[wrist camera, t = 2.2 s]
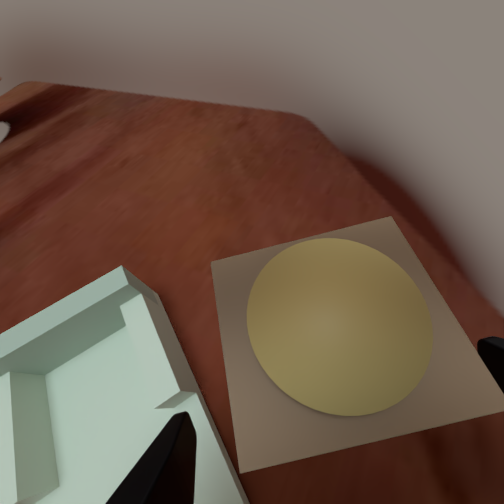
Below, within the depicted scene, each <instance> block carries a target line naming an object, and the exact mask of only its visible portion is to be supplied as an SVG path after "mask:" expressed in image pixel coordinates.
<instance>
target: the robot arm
mask: <svg viewBox="0 0 504 504" xmlns="http://www.w3.org/2000/svg"><path fill="white" fill-rule="evenodd" d="M477 351H478V354H479V356H480V358H481V359H482V361H483V362H484V364H485V365H486V367H487V369H488V370H489V372H490V373H491V375H492V377H493V378H494V380H495V381H496V383H497V384H498V386H499V388H500V389H501V391H502V392H503V394H504V339H503V338H499V337H495V336H491V337H487V338H483V339H480V340H479V341H478V342H477ZM196 449H197V434H196V430H195V428H194V425H193V422H192V420H191V417H190V415H189V413H188V412H187V411H184V412H180V413H176V414H174V415H173V416H172V417H171V418H170V420H169V421H168V422H167V424H166V425H165V426H164V427H163V429H162V430H161V431H160V433H159V434H158V435H157V437H156V438H155V439H154V441H153V442H152V443H151V444H150V446H149V447H148V448H147V450H146V451H145V452H144V454H143V455H142V456H141V457H140V459H139V460H138V461H137V463H136V464H135V465H134V467H133V468H132V469H131V471H130V472H129V473H128V474H127V476H126V477H125V478H124V480H123V481H122V482H121V484H120V485H119V486H118V487H117V489H116V490H115V491H114V493H113V494H112V495H111V497H110V498H109V499H108V501H107V502H106V503H105V504H194V492H195V471H196Z"/></svg>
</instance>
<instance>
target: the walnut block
mask: <svg viewBox="0 0 504 504" xmlns="http://www.w3.org/2000/svg"><path fill="white" fill-rule="evenodd" d="M211 269H212V276H213V283H214V290H215V297H216V305H217V312H218V319H219V326H220V334H221V341H222V348H223V355H224V363H225V370H226V377H227V384H228V392H229V399H230V406H231V413H232V421H233V428H234V435H235V442H236V450H237V457H238V464H239V471H240V473H245V472H249V471H253V470H257V469H261V468H266V467H270V466H274V465H278V464H282V463H287V462H291V461H295V460H299V459H304V458H308V457H312V456H316V455H320V454H325V453H329V452H333V451H337V450H341V449H346V448H350V447H354V446H358V445H363V444H367V443H371V442H375V441H379V440H384V439H388V438H392V437H396V436H401V435H405V434H409V433H413V432H417V431H422V430H426V429H430V428H434V427H438V426H443V425H447V424H451V423H455V422H460V421H464V420H468V419H472V418H476V417H481V416H485V415H489V414H493V413H497V412H502V411H504V394H503V392H502V391H501V389H500V388H499V386H498V384H497V383H496V381H495V380H494V378H493V377H492V375H491V373H490V372H489V370H488V369H487V367H486V365H485V364H484V362H483V361H482V359H481V358H480V356H479V354H478V353H477V351H476V350H475V348H474V346H473V345H472V343H471V342H470V340H469V339H468V337H467V335H466V334H465V332H464V331H463V329H462V327H461V326H460V324H459V323H458V321H457V320H456V318H455V316H454V315H453V313H452V312H451V310H450V309H449V307H448V305H447V304H446V302H445V301H444V299H443V297H442V296H441V294H440V293H439V291H438V290H437V288H436V286H435V285H434V283H433V282H432V280H431V278H430V277H429V275H428V274H427V272H426V271H425V269H424V267H423V266H422V264H421V263H420V261H419V259H418V258H417V256H416V255H415V253H414V252H413V250H412V248H411V247H410V245H409V244H408V242H407V241H406V239H405V237H404V236H403V234H402V233H401V231H400V229H399V228H398V226H397V225H396V223H395V222H394V220H393V218H392V217H391V216H390V217H386V218H382V219H378V220H374V221H370V222H366V223H363V224H359V225H355V226H351V227H347V228H343V229H339V230H335V231H331V232H327V233H323V234H319V235H315V236H311V237H307V238H303V239H299V240H296V241H292V242H288V243H284V244H280V245H276V246H272V247H268V248H264V249H260V250H256V251H252V252H248V253H244V254H240V255H236V256H232V257H229V258H225V259H221V260H217V261H213V262H211Z"/></svg>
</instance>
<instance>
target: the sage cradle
mask: <svg viewBox="0 0 504 504" xmlns="http://www.w3.org/2000/svg"><path fill="white" fill-rule="evenodd" d="M184 411H187V412H188V413H189V415H190V417H191V420H192V422H193V425H194V428H195V430H196V434H197V449H196V471H195V492H194V504H250V503H249V501H248V499H247V496H246V494H245V492H244V490H243V487H242V485H241V483H240V480H239V478H238V476H237V474H236V471H235V469H234V467H233V464H232V462H231V460H230V458H229V455H228V453H227V451H226V449H225V446H224V444H223V442H222V439H221V437H220V435H219V433H218V430H217V428H216V426H215V423H214V421H213V419H212V417H211V414H210V412H209V410H208V407H207V405H206V403H205V401H204V398H203V396H202V394H201V391H200V389H199V387H198V385H197V382H196V380H195V378H194V375H193V373H192V371H191V369H190V366H189V364H188V362H187V359H186V357H185V355H184V353H183V350H182V348H181V346H180V343H179V341H178V339H177V337H176V334H175V332H174V330H173V327H172V325H171V323H170V321H169V318H168V316H167V314H166V311H165V309H164V307H163V305H162V302H161V300H160V298H159V295H158V294H157V293H155V292H154V291H153V290H152V289H150V288H149V287H148V286H147V285H145V284H144V283H143V282H142V281H140V280H139V279H138V278H137V277H135V276H134V275H133V274H132V273H130V272H129V271H128V270H126V269H125V268H124V267H123V266H120V267H118V268H116V269H115V270H113V271H111V272H109V273H107V274H106V275H104V276H102V277H100V278H99V279H97V280H95V281H93V282H92V283H90V284H88V285H86V286H85V287H83V288H81V289H79V290H77V291H76V292H74V293H72V294H70V295H69V296H67V297H65V298H63V299H62V300H60V301H58V302H56V303H55V304H53V305H51V306H49V307H48V308H46V309H44V310H42V311H40V312H39V313H37V314H35V315H33V316H32V317H30V318H28V319H26V320H25V321H23V322H21V323H19V324H18V325H16V326H14V327H12V328H10V329H9V330H7V331H5V332H3V333H2V334H0V504H105V503H106V502H107V501H108V499H109V498H110V497H111V495H112V494H113V493H114V491H115V490H116V489H117V487H118V486H119V485H120V484H121V482H122V481H123V480H124V478H125V477H126V476H127V474H128V473H129V472H130V471H131V469H132V468H133V467H134V465H135V464H136V463H137V461H138V460H139V459H140V457H141V456H142V455H143V454H144V452H145V451H146V450H147V448H148V447H149V446H150V444H151V443H152V442H153V441H154V439H155V438H156V437H157V435H158V434H159V433H160V431H161V430H162V429H163V427H164V426H165V425H166V424H167V422H168V421H169V420H170V418H171V417H172V416H173V415H174V414H176V413H180V412H184Z"/></svg>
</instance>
